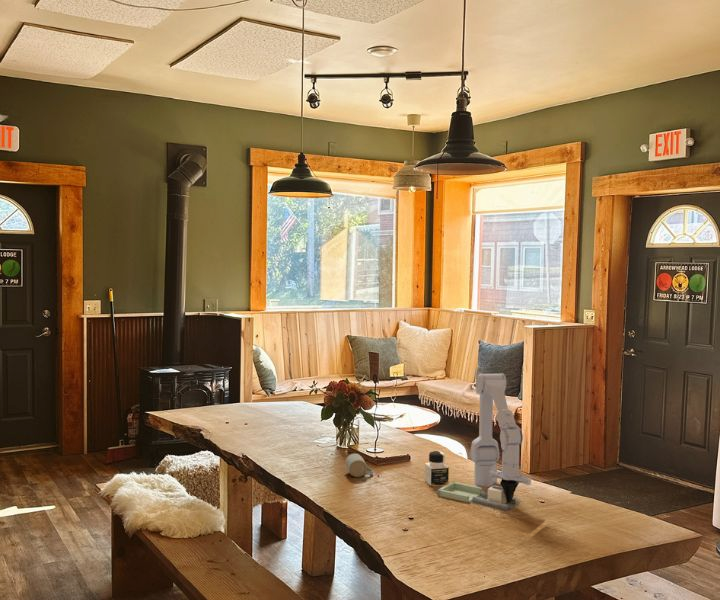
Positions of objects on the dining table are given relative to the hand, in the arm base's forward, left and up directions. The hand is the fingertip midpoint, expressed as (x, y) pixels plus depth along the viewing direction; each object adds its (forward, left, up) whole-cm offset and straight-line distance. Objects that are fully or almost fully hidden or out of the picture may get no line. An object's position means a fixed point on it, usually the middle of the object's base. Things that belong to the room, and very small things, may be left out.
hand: (509, 501), depth 260 cm
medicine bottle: (-9, -33, -3) cm, 35 cm away
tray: (0, -19, -2) cm, 19 cm away
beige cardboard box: (0, -4, -2) cm, 5 cm away
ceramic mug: (0, -63, -3) cm, 63 cm away
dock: (0, -5, -2) cm, 6 cm away
